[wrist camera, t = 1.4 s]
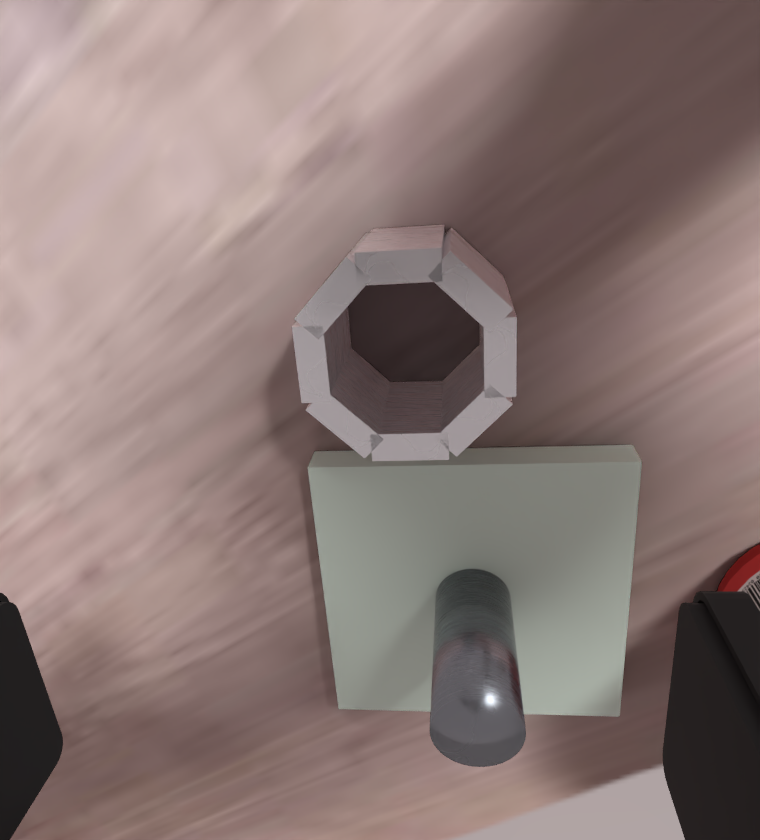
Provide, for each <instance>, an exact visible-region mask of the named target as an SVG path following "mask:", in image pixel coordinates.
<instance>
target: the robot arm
mask: <svg viewBox="0 0 760 840" xmlns="http://www.w3.org/2000/svg"><path fill="white" fill-rule="evenodd" d="M62 746H63V738H62V734H61V731H60V728H59V725H58V722H57V719H56V716H55V713H54V711H53V708H52V705H51V702H50V699H49V696H48V693H47V691H46V688H45V685H44V682H43V679H42V676H41V673H40V670H39V668H38V665H37V662H36V659H35V656H34V653H33V650H32V647H31V645H30V642H29V639H28V636H27V633H26V630H25V627H24V625H23V622H22V619H21V616H20V613H19V610H18V608H17V607H16V605H15V604H13V603H11V602H9V600H8V598H7V597H6V596H5V595H4V594H3V593H0V840H10V838H11V837H12V835H13V834H14V832H15V830H16V829H17V827H18V826H19V824H20V822H21V821H22V819H23V818H24V816H25V814H26V813H27V811H28V809H29V808H30V806H31V805H32V803H33V801H34V800H35V798H36V797H37V795H38V793H39V792H40V790H41V789H42V787H43V785H44V784H45V782H46V781H47V779H48V777H49V776H50V774H51V772H52V771H53V769H54V768H55V766H56V764H57V762H58V760H59V758H60V755H61V752H62ZM663 766H664V773H665V778H666V781H667V785H668V788H669V791H670V794H671V797H672V800H673V803H674V806H675V809H676V813H677V816H678V819H679V822H680V825H681V828H682V831H683V834H684V837H685V840H760V611H759V610H758V608H757V606H756V605H755V603H754V602H753V600H752V598H751V597H750V596H749V595H748V594H747V593H745V592H743V591H700V592H697V593H696V595H695V597H694V601H693V603H682V604H681V606H680V610H679V616H678V625H677V633H676V642H675V651H674V659H673V668H672V677H671V685H670V694H669V702H668V711H667V720H666V728H665V737H664V746H663Z"/></svg>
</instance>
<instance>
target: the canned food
mask: <svg viewBox="0 0 760 840" xmlns="http://www.w3.org/2000/svg"><path fill="white" fill-rule="evenodd" d="M717 591H743V592H745V593H747V594H748V595H749V596H750V597H751V598H752V600H753V602H754V603H755V605H756V606H757V608H758V610H759V611H760V544H759V545H757V546H755V547H753V548H752V549H750V550H749V551H748V552H747V553H745V554H744V555H743V556H741V557H740V558H739V559H738V560H737V561H736V562H735V563H734V564H733V565H732V567H731V568H730V569H729V570H728V571H727V573H726V574H725V576H724V578H723V579H722V581H721V582H720V584H719V587H718V590H717Z"/></svg>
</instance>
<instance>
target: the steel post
mask: <svg viewBox="0 0 760 840" xmlns="http://www.w3.org/2000/svg"><path fill="white" fill-rule="evenodd" d="M430 736H431V739H432V741H433V743H434V745H435V746H436V748H437V749H438V750H439V751H440V752H441V753H442V754H443V755H444V756H446V757H447V758H449V759H451V760H453V761H455V762H458V763H460V764H464V765H468V766H476V767H485V766H493V765H497V764H500V763H503V762H505V761H507V760H509V759H511V758H512V757H513V756H515V755H516V754H517V753H518V752H519V751H520V749H521V748H522V746H523V744H524V741H525V737H526V730H525V721H524V712H523V703H522V694H521V685H520V676H519V667H518V659H517V650H516V641H515V632H514V623H513V614H512V605H511V597H510V592H509V590H508V587H507V586H506V584H505V583H504V582H503V581H502V580H501V579H500V578H499V577H498V576H496V575H494V574H493V573H490V572H488V571H485V570H481V569H464V570H459V571H456V572H454V573H452V574H450V575H449V576H447V577H446V578H445V579H444V580H443V581H442V582H441V583H440V585H439V587H438V589H437V591H436V600H435V623H434V645H433V667H432V689H431V712H430Z"/></svg>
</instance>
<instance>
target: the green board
mask: <svg viewBox="0 0 760 840" xmlns="http://www.w3.org/2000/svg"><path fill="white" fill-rule="evenodd" d="M641 467H642V461H641V459H640V457H639V455H638V454H637V452H636V450H635V448H634V446H633V445H596V446H547V447H499V448H466V449H465V450H464V451H462V452H461V453H460V454H459V455H458V456H457V457H456V456H455V455H454V454H453V453H452V452H450V451H449V460H415V461H372V452H371V453H370V454H369V455H368V456H367V457H366V458H363V457H362V456H361V455H360V454H358V453H357V452H356V451H355V450H354V451H314V454H313V456H312V458H311V461H310V463H309V465H308V476H309V483H310V491H311V499H312V507H313V514H314V522H315V530H316V538H317V545H318V553H319V561H320V569H321V577H322V584H323V592H324V600H325V608H326V615H327V623H328V631H329V639H330V646H331V654H332V662H333V670H334V678H335V685H336V693H337V701H338V709H352V710H390V711H427V712H431V689H432V667H433V645H434V623H435V600H436V591H437V589H438V587H439V585H440V583H441V582H442V581H443V580H444V579H445V578H446V577H447V576H449V575H450V574H452V573H454V572H456V571H459V570H464V569H481V570H485V571H488V572H490V573H493V574H494V575H496V576H498V577H499V578H500V579H501V580H502V581H503V582H504V583H505V584H506V586H507V587H508V590H509V592H510V597H511V605H512V614H513V623H514V632H515V641H516V650H517V659H518V667H519V676H520V685H521V694H522V703H523V712H524V714H539V715H577V716H614V717H620V707H621V696H622V684H623V673H624V662H625V650H626V639H627V627H628V616H629V604H630V593H631V581H632V570H633V559H634V547H635V536H636V524H637V513H638V501H639V490H640V479H641Z"/></svg>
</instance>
